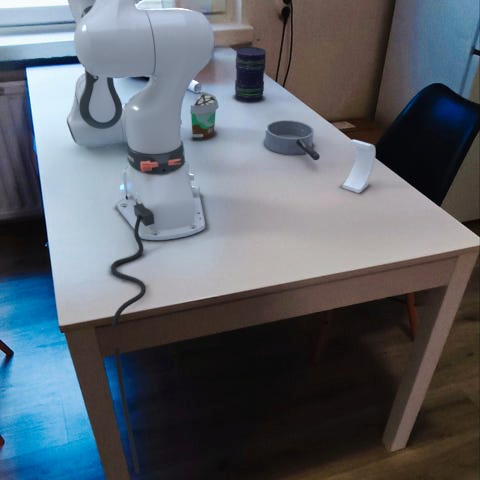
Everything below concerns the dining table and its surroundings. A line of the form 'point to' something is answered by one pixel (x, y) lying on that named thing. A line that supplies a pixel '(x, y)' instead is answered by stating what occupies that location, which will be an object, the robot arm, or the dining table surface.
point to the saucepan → (288, 136)
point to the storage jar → (250, 74)
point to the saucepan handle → (308, 149)
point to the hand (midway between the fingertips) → (180, 120)
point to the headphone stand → (361, 166)
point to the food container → (203, 116)
